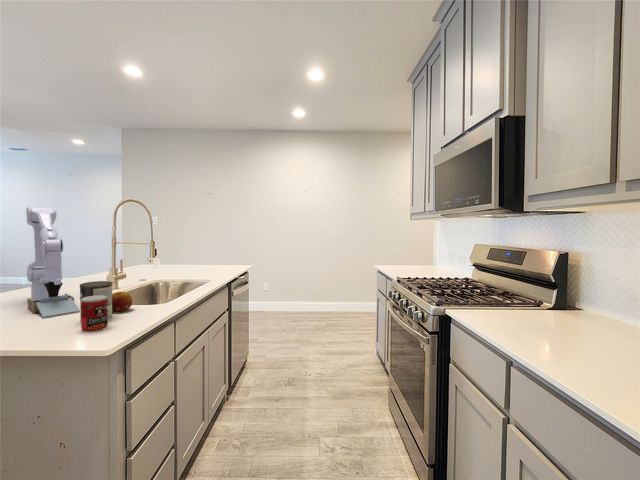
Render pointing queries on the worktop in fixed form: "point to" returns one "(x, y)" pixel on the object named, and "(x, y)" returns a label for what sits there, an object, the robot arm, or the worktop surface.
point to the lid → (56, 306)
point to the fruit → (121, 301)
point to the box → (33, 307)
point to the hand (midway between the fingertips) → (53, 299)
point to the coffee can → (97, 292)
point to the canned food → (94, 313)
